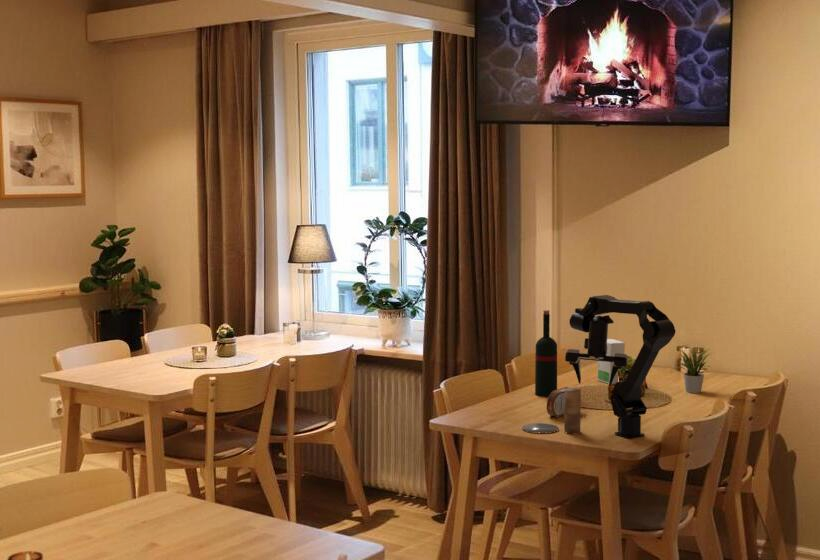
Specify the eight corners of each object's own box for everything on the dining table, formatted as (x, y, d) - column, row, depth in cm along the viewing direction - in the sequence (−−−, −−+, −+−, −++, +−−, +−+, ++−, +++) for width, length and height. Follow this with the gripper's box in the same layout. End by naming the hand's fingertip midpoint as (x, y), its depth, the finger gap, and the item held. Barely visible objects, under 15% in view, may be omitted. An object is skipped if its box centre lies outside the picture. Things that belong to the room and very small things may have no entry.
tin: (569, 409, 343) (569, 384, 342) (577, 410, 341) (578, 385, 340) (545, 418, 331) (545, 392, 330) (553, 419, 329) (554, 393, 328)
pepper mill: (583, 432, 312) (584, 390, 311) (571, 434, 310) (571, 392, 308) (573, 429, 316) (573, 387, 315) (561, 431, 314) (561, 389, 312)
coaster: (565, 430, 315) (565, 428, 315) (536, 435, 309) (536, 433, 309) (543, 423, 324) (543, 421, 324) (515, 427, 319) (515, 426, 319)
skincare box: (596, 380, 389) (597, 339, 387) (611, 378, 392) (611, 338, 390) (610, 384, 382) (610, 343, 380) (624, 382, 384) (625, 341, 383)
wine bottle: (562, 392, 369) (563, 309, 366) (552, 397, 360) (552, 312, 357) (542, 390, 373) (542, 307, 370) (531, 395, 364) (531, 311, 361)
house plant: (721, 389, 371) (722, 344, 369) (713, 397, 359) (714, 351, 357) (681, 386, 377) (682, 342, 376) (672, 393, 365) (673, 348, 363)
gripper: (629, 332, 323) (626, 381, 325) (569, 327, 327) (566, 375, 330) (628, 340, 312) (624, 390, 315) (566, 335, 316) (563, 384, 319)
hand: (594, 384), depth 320 cm, fingers open, 9 cm apart
